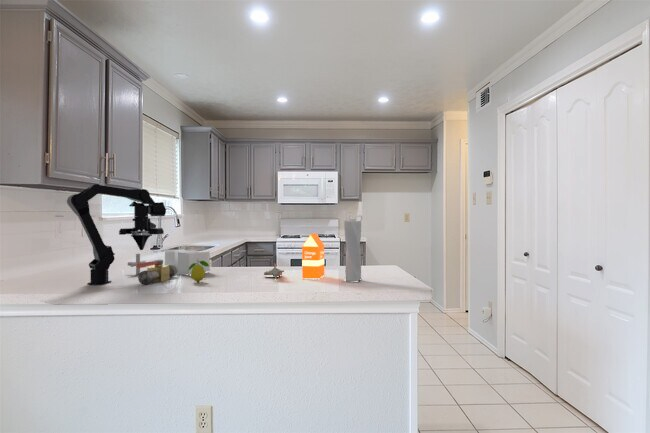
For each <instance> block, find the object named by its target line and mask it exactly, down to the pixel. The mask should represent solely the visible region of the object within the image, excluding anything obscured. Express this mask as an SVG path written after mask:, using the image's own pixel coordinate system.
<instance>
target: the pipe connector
mask: <svg viewBox="0 0 650 433" xmlns="http://www.w3.org/2000/svg"><path fill="white" fill-rule="evenodd" d="M145 262H147V261H145V260H141V253H135V261H131V262H130V261H128V262H127V266H130V267H131V268H133V267H135V274H136V275H139V274H140V272H141V268H137V264H139V263H145Z"/></svg>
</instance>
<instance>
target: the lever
mask: <svg viewBox="0 0 650 433" xmlns="http://www.w3.org/2000/svg"><path fill="white" fill-rule="evenodd" d="M156 264H163V265H164V259H156V260H151V261H146V262H145V263H139V264H137V268H140V269H141V268H148V267H152V266H155V265H156Z"/></svg>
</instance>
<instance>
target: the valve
mask: <svg viewBox="0 0 650 433" xmlns="http://www.w3.org/2000/svg"><path fill="white" fill-rule="evenodd" d="M283 273H285V270H281V269H279V268H277V264H276V263H275V262H274V263H273V268H272V269H269V270H268V271H264V272H263V276H264V275H273V276H275V277H274V280H275V279H277V280H278V277H277V276H280V275H281V276H283Z"/></svg>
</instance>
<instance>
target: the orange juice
mask: <svg viewBox="0 0 650 433" xmlns="http://www.w3.org/2000/svg"><path fill="white" fill-rule="evenodd" d="M301 255H302V257H301V258H302V259H301V263H302V264H301V266H302V268H301V269H302V270H301V271H302V275H301V276H302V278H320V277H321V276H323V275H324V276H325V244H324V243H323V241H322V240H321V237H319V235H318V233H310V235H309V236H308V237H307V239H306V240H305V242H304V244H303V245H302V246H301Z"/></svg>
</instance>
